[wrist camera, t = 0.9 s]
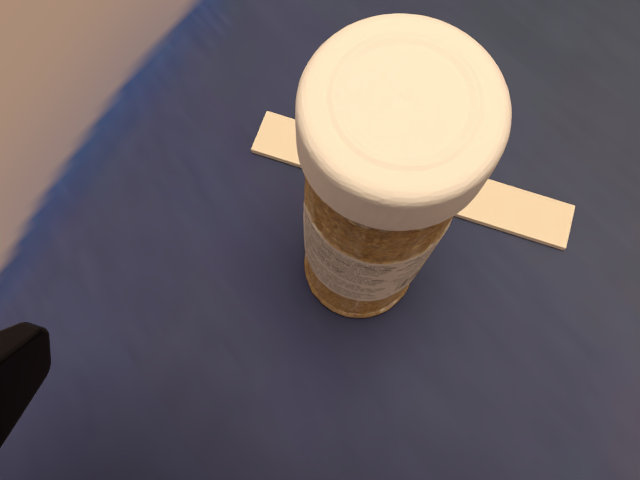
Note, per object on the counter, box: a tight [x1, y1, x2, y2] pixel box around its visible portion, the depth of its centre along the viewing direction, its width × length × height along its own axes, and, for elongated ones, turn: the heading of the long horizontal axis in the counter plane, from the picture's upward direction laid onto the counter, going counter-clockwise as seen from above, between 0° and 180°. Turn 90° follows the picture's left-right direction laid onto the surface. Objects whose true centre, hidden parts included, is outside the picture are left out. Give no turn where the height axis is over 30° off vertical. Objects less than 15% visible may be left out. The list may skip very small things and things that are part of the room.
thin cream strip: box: [251, 111, 575, 250], centre depth 26 cm, size 2×14×1 cm, turn 72°
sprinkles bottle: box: [295, 14, 512, 318], centre depth 19 cm, size 5×5×14 cm
